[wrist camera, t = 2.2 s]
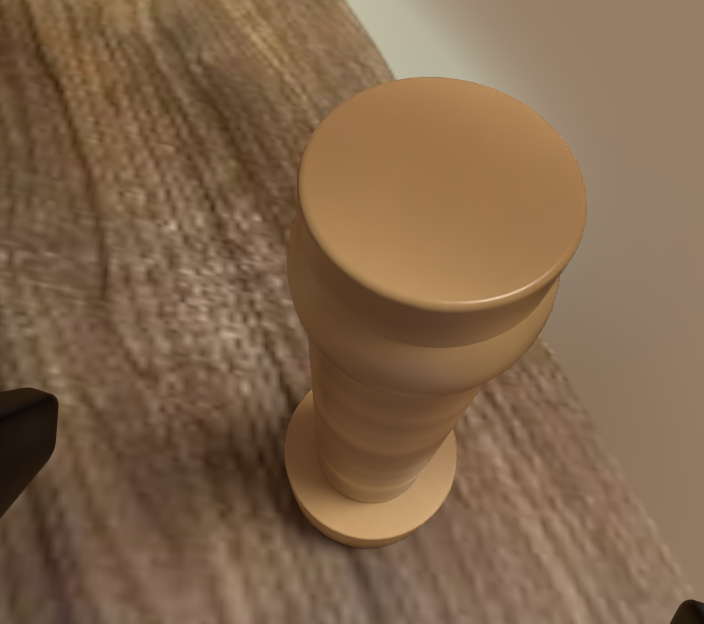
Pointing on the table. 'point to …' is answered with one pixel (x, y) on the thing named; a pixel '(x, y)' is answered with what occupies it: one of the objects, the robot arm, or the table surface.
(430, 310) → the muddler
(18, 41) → the table surface
